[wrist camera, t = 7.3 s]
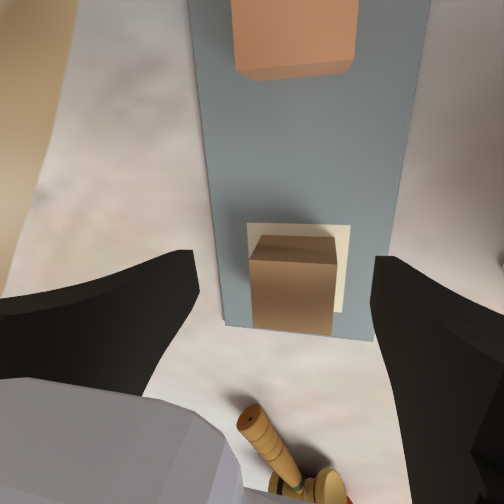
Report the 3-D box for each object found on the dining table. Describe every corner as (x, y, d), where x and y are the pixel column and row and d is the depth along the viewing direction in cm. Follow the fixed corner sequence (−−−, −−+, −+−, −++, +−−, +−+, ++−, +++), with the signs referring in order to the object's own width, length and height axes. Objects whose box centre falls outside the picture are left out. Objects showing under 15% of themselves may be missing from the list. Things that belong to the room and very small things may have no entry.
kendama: (225, 405, 32) (311, 520, 34) (207, 456, 26) (314, 594, 27) (280, 377, 30) (370, 500, 32) (276, 425, 24) (387, 575, 25)
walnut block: (329, 299, 21) (331, 336, 17) (264, 293, 22) (252, 327, 18) (334, 237, 19) (337, 264, 15) (261, 234, 20) (248, 259, 16)
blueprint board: (372, 338, 22) (372, 341, 22) (226, 322, 25) (225, 325, 24) (444, -99, 12) (448, -106, 11) (185, -45, 15) (181, -50, 14)
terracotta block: (346, 73, 15) (353, 58, 11) (254, 81, 16) (235, 71, 12) (356, -56, 13) (369, -123, 9) (249, -36, 14) (224, -89, 10)
